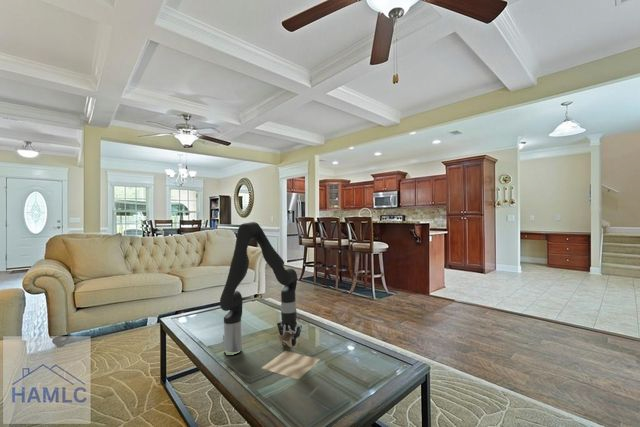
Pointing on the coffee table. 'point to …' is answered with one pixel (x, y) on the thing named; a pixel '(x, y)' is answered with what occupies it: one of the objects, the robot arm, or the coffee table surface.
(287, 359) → the wooden board
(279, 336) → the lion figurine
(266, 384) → the coffee table surface
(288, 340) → the white block
